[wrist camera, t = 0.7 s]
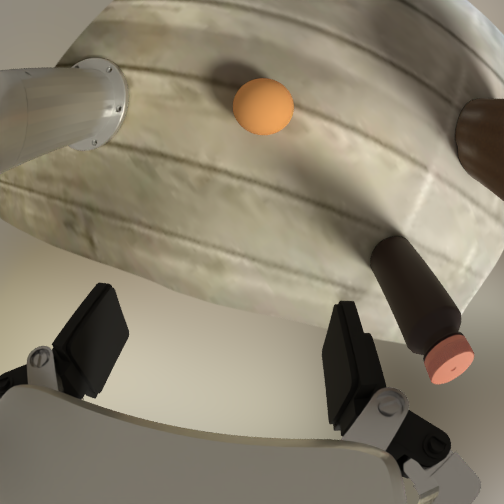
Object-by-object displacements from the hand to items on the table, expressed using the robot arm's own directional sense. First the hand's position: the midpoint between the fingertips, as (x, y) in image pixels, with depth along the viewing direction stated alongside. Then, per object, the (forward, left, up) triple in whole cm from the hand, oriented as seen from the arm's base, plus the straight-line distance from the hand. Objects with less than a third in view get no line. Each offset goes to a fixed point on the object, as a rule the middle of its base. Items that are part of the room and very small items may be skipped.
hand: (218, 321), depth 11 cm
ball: (-1, +8, -21) cm, 22 cm away
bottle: (+22, -4, -24) cm, 33 cm away
